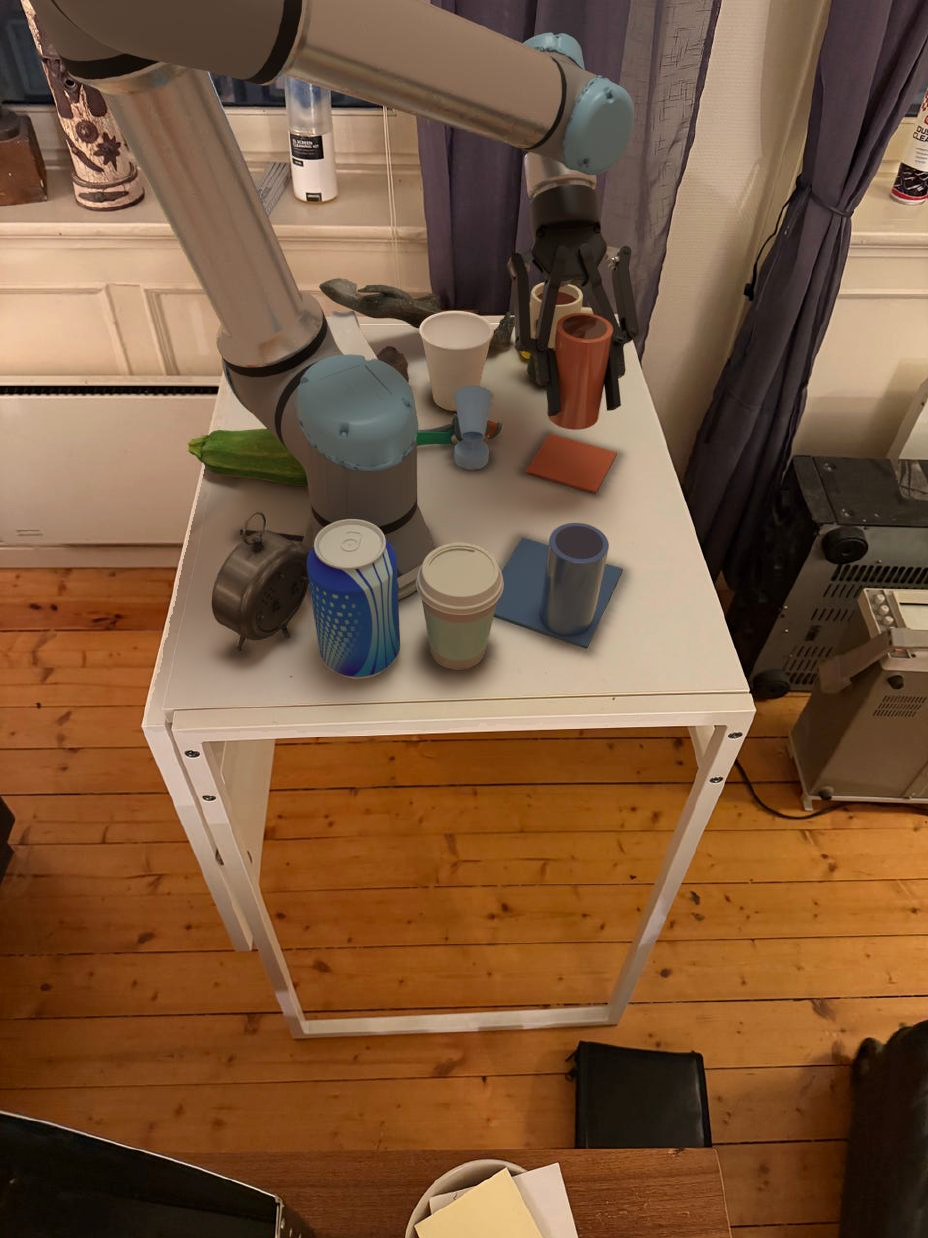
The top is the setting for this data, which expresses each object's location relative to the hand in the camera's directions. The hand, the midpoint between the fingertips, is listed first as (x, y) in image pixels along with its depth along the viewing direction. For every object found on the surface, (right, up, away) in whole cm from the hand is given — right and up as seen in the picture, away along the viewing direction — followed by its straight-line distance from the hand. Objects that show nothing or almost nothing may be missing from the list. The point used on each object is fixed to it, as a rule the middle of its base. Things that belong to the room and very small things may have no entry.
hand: (584, 410), depth 96 cm
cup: (-15, +8, +28) cm, 32 cm away
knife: (-18, 0, +20) cm, 27 cm away
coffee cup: (-14, -26, -3) cm, 30 cm away
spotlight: (-12, -2, +19) cm, 23 cm away
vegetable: (-28, -3, +12) cm, 31 cm away
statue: (-6, +21, +38) cm, 43 cm away
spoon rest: (-30, +11, +30) cm, 44 cm away
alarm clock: (-34, -24, -2) cm, 42 cm away
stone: (-26, +13, +30) cm, 42 cm away
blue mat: (-3, -20, +3) cm, 20 cm away
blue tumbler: (-2, -23, 0) cm, 23 cm away
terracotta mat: (+1, -3, +19) cm, 19 cm away
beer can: (-24, -27, -4) cm, 36 cm away
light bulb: (-5, +17, +35) cm, 40 cm away
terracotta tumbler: (-1, +1, +5) cm, 5 cm away
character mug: (-1, +13, +32) cm, 35 cm away
